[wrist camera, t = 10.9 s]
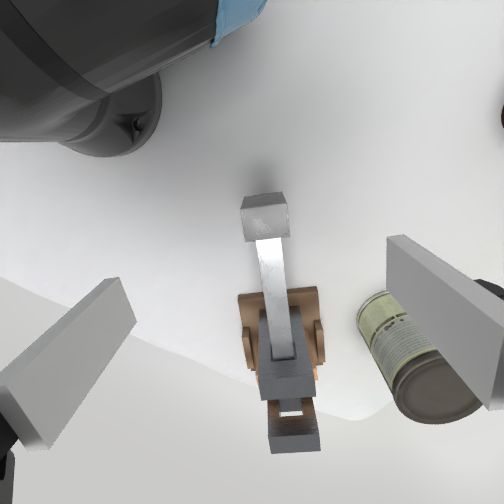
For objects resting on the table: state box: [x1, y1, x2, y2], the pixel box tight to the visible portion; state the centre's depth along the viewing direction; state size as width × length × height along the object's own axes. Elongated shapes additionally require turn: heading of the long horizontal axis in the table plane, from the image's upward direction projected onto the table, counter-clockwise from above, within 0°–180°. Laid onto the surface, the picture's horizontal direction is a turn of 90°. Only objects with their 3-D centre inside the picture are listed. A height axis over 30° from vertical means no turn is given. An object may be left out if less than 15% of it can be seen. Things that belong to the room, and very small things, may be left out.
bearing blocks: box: [258, 305, 321, 454], centre depth 38 cm, size 12×6×14 cm, turn 8°
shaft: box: [240, 192, 295, 361], centre depth 30 cm, size 20×4×6 cm, turn 8°
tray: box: [238, 286, 325, 371], centre depth 43 cm, size 14×12×4 cm
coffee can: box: [357, 291, 483, 424], centre depth 37 cm, size 10×10×14 cm
